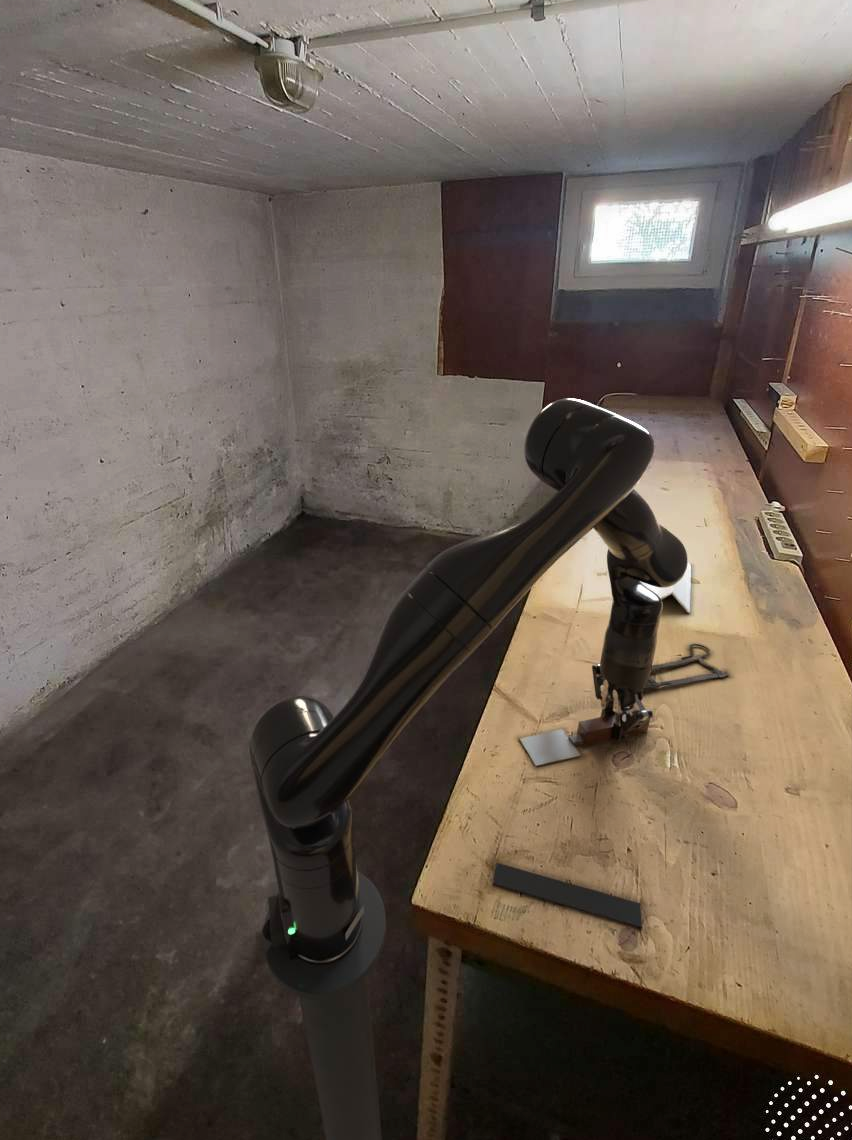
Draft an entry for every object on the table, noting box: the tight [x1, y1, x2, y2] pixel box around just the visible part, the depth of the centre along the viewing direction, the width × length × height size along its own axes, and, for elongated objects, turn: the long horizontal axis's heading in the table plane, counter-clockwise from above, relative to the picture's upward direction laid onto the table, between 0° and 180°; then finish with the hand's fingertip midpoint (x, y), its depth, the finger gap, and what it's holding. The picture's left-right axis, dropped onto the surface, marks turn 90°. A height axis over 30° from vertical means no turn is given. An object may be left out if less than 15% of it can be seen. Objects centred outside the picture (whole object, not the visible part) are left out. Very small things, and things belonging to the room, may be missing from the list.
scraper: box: [519, 714, 651, 767], centre depth 94 cm, size 22×6×3 cm, turn 104°
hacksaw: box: [642, 643, 731, 692], centre depth 110 cm, size 24×10×2 cm, turn 103°
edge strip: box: [492, 862, 643, 929], centre depth 72 cm, size 18×3×1 cm, turn 72°
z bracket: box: [641, 561, 692, 614], centre depth 139 cm, size 12×25×6 cm
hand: (612, 731), depth 96 cm, fingers closed on scraper, 2 cm apart
